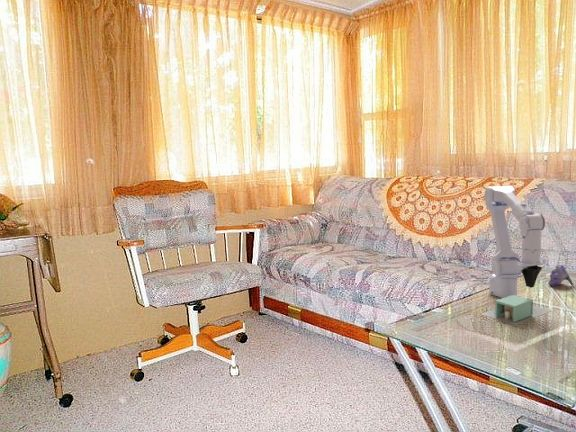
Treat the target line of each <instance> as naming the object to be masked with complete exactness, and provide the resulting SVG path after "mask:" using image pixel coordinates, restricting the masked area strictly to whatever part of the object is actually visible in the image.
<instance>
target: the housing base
mask: <svg viewBox="0 0 576 432" xmlns="http://www.w3.org/2000/svg"><path fill="white" fill-rule="evenodd" d="M551 312H552V310H551V309H547V308H543V307H539V306H537V305H533V311H532V315H531V316H529V317H526V318H523V319H521V320H518V321H515V322H514V321H513V319H511V318H510V311H509V310H505V316H504V314H501V315H499V316H495V308H494V309H492V310H489V311H486V312H483V313H481V314H480V315H481V316H484V317H488V318H491V319H494V320H497V321H500V322H503V323H506V324H510V325H512V326H517V325H520V324H522V323H525V322H527V321H530V320H533V319H535V318H538V317H541V316H543V315H546V314H548V313H551Z"/></svg>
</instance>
